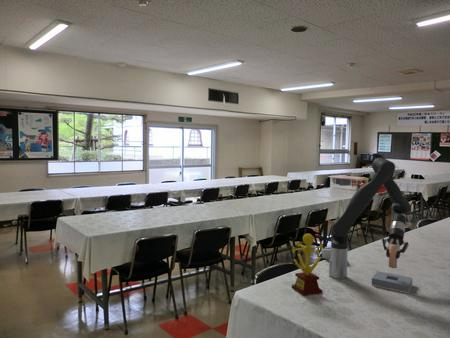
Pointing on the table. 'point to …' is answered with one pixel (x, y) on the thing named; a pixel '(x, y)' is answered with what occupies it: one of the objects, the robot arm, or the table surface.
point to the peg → (392, 256)
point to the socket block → (392, 282)
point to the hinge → (327, 253)
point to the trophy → (307, 269)
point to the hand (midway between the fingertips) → (392, 257)
